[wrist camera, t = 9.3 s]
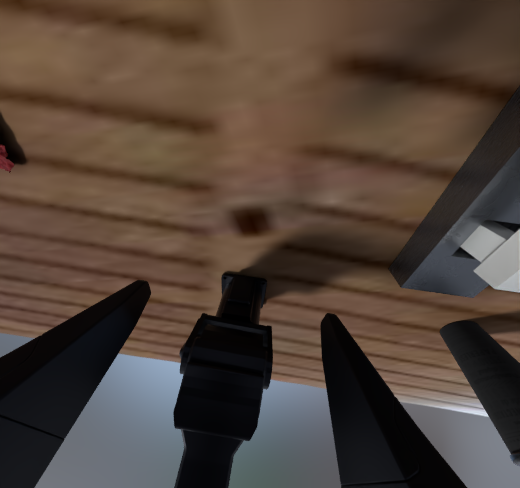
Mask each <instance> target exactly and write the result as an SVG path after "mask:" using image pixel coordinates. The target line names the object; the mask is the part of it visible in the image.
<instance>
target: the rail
mask: <svg viewBox="0 0 520 488" xmlns="http://www.w3.org/2000/svg"><path fill="white" fill-rule="evenodd" d="M485 219H486V220H492V221H494V222H496V223H498V224H500V225H502V226H504V227H506V228H508V229H510V230H512V231H513V232H515V233H516V232H517V231H518V230H519V229H520V86H519V88H518V89H517V90H516V92H515V93H514V95H513V96H512V97H511V99H510V100H509V102H508V103H507V104H506V106H505V107H504V109H503V110H502V111H501V113H500V114H499V115H498V117H497V118H496V120H495V121H494V122H493V124H492V125H491V127H490V128H489V129H488V131H487V132H486V134H485V135H484V136H483V138H482V139H481V141H480V142H479V143H478V145H477V146H476V148H475V149H474V150H473V152H472V153H471V155H470V156H469V157H468V159H467V160H466V162H465V163H464V164H463V166H462V167H461V168H460V170H459V171H458V173H457V174H456V175H455V177H454V178H453V180H452V181H451V182H450V184H449V185H448V187H447V188H446V189H445V191H444V192H443V194H442V195H441V196H440V198H439V199H438V201H437V202H436V203H435V205H434V206H433V208H432V209H431V210H430V212H429V213H428V214H427V216H426V217H425V219H424V220H423V221H422V223H421V224H420V226H419V227H418V228H417V230H416V231H415V233H414V234H413V235H412V237H411V238H410V240H409V241H408V242H407V244H406V245H405V247H404V248H403V249H402V251H401V252H400V254H399V255H398V256H397V258H396V259H395V261H394V262H393V263H392V265H391V266H390V267H389V271H390V272H391V274H392V275H393V277H394V278H395V279H396V281H397V282H398V284H399V285H400V287H401V288H408V289H415V290H422V291H429V292H436V293H443V294H450V295H457V296H464V297H471V298H473V297H475V296H476V295H477V294H478V293H480V292H481V291H482V290H483V289H485V288H486V287H487V286H488V285H489V284H488V283H487V282H486V281H485V280H483V279H482V278H481V277H480V276H478V275H477V274H476V273H475V272H474V270H475V269H476V268H477V267H478V266H479V265H480V264H481V262H480V261H478V260H477V259H476V258H475V257H473V256H472V255H471V254H469V253H468V252H467V251H465V250H464V249H463V248H461V247H460V246H461V245H462V244H463V243H464V242H465V241H466V240H467V239H468V237H469V236H470V235H471V234H472V233H473V232H474V231H475V230H476V229H477V228H478V227H479V226H480V225H481V224H482V223H483V222H484V221H485Z"/></svg>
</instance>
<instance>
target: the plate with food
mask: <svg viewBox="0 0 520 488" xmlns="http://www.w3.org/2000/svg"><path fill="white" fill-rule="evenodd" d="M5 157H8V153H7V152H6V150H5V146H4V145H2V144H0V168H1V169H5V170H6V171H9V173H10V172H11V171H10V170H11V169H12V167H14V164H13V163H12V162H11V161H10V160H8V159H6V158H5Z"/></svg>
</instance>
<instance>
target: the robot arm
mask: <svg viewBox="0 0 520 488" xmlns="http://www.w3.org/2000/svg"><path fill="white" fill-rule="evenodd" d="M263 282H264V283H263ZM266 285H267V280H265V279H260V278H253V277H246V276H240V275H233V274H223V275H222V299H221V302H220V305H219V308H218V311H217V314H216V316H211V315H207V314H205V313H202V315H201V317H200V319H198V321H197V323H196V325H195V327H194V329H193V330H192V332H191V334H190V336H189V338H188V340H187V341H186V343H185V344H184V345H183V347H182V348H181V350H180V357H181V365H180V374H184V375H183V379H182V383H181V387H180V390H179V394H178V398H177V402H176V405H175V408H174V426H175V428H176V429H181V431H182V437H183V442H184V452H183V456H182V460H181V464H180V468H179V471H178V476H177V479H176V483H175V487H174V488H228V486H229V480H230V474H231V468H232V462H233V456H234V454H235V453H236V451H237V450H238V448H239V447H240V445H241V444H242V442H243V441H244V440H245V441H249V440H250V439H251V437H252V436H253V434H254V432H255V430H256V428H257V424H258V418H259V413H260V406H261V400H262V393H263V389H268V387H269V384H270V379H271V373H272V363H273V350H272V327H271V326H268V325H267V326H264V325H259V318H260V309H261V308H262V307H263V302H264V296H265V291H266ZM150 295H151V290H150V287H149V284H148V282H147V281H144V280H137V281H135V282H133V283H132V284H130V285H128V286H126V287H125V288H123V289H121V290H119V291H118V292H116V293H114V294H112V295H110V296H109V297H107V298H105V299H103V300H102V301H100V302H98V303H96V304H95V305H93V306H91V307H89V308H88V309H86V310H84V311H82V312H81V313H79V314H77V315H75V316H74V317H72V318H70V319H68V320H67V321H65V322H63V323H61V324H60V325H58V326H56V327H54V328H53V329H51V330H49V331H47V332H45V333H44V334H42V336H38V337H37V338H35V339H33V340H31V341H30V342H28V343H26V344H24V345H22V346H21V347H19V348H17V349H15V350H13V351H12V352H10V353H8V354H6V355H4V356H2V357H1V358H0V488H34V487H35V486H36V484H37V482H38V481H39V479H40V478H41V476H42V475H43V473H44V471H45V470H46V468H47V467H48V465H49V463H50V462H51V460H52V459H53V457H54V455H55V454H56V452H57V451H58V449H59V447H60V446H61V444H62V443H63V441H64V438H65V437H66V436H67V434H68V433H69V431H70V429H71V428H72V426H73V425H74V423H75V422H76V420H77V418H78V417H79V415H80V414H81V412H82V410H83V409H84V407H85V406H86V404H87V402H88V401H89V399H90V398H91V396H92V394H93V393H94V391H95V390H96V388H97V386H98V385H99V383H100V382H101V380H102V378H103V377H104V375H105V374H106V372H107V370H108V369H109V367H110V366H111V364H112V363H113V361H114V359H115V358H116V356H117V355H118V353H119V351H120V350H121V348H122V347H123V345H124V343H125V342H126V340H127V339H128V337H129V335H130V334H131V332H132V331H133V329H134V327H135V326H136V324H137V322H138V320H139V318H140V316H141V314H142V312H143V310H144V308H145V306H146V304H147V302H148V300H149V298H150ZM321 347H322V361H323V368H324V375H325V381H326V388H327V395H328V401H329V407H330V415H331V421H332V428H333V434H334V441H335V448H336V454H337V461H338V468H339V475H340V481H341V488H467V487H466V486H465V484H464V483H463V482H462V481H461V480H460V478H459V477H458V476H457V475H456V473H455V472H454V471H453V470H452V468H451V467H450V466H449V465H448V463H447V462H446V461H445V460H444V459H443V458H442V456H441V455H440V454H439V452H438V451H437V450H436V449H435V448H434V446H433V445H432V444H431V443H430V441H429V440H428V439H427V438H426V436H425V435H424V434H423V433H422V432H421V430H420V429H419V428H418V426H417V425H416V424H415V422H414V421H413V420H412V418H411V417H410V416H409V414H408V413H407V412H406V410H405V409H404V408H403V406H402V405H401V404H400V402H399V401H398V399H397V398H396V397H394V394H393V393H392V391H391V390H390V388H389V387H388V386H387V384H386V383H385V382H384V380H383V379H382V377H381V376H380V375H379V373H378V372H377V371H376V369H375V368H374V366H373V365H372V364H371V362H370V361H369V360H368V358H367V357H366V355H365V354H364V353H363V351H362V350H361V349H360V347H359V346H358V344H357V343H356V342H355V340H354V339H353V337H352V336H351V335H350V333H349V332H348V331H347V329H346V328H345V326H344V325H343V324H342V322H341V321H340V320H339V318H338V317H337V316H336V315H335V314H331V313H327V314H326V315H325V317H324V318H323V320H322V322H321Z"/></svg>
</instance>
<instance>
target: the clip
mask: <svg viewBox="0 0 520 488" xmlns="http://www.w3.org/2000/svg"><path fill="white" fill-rule="evenodd" d="M460 247H461V248H463V249H464V250H465V251H467V252H468V253H469V254H471V255H472V256H473V257H475V258H476V259H477V260H478V261H480V262H481V264H480V265H479V266H478V267H477V268H476V269H475V270H474V272H475V273H476V274H477V275H478V276H480V277H481V278H482V279H483V280H485V281H486V282H487V283H488V284H489V285H491V286H492V287H493V288H494V289H499V290H506V291H513V292H520V229H519V230H518V231H517V232H516V233H515V232H513V231H512V230H510V229H508V228H506V227H504V226H502V225H500V224H498V223H496V222H494V221H492V220H486V219H485V221H484V222H483V223H482V224H481V225H480V226H479V227H478V228H477V229H476V230H475V231H474V232H473V233H472V234H471V235H470V236H469V237H468V239H467V240H466V241H465V242H464V243H463V244H462V245H461V246H460Z"/></svg>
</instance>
